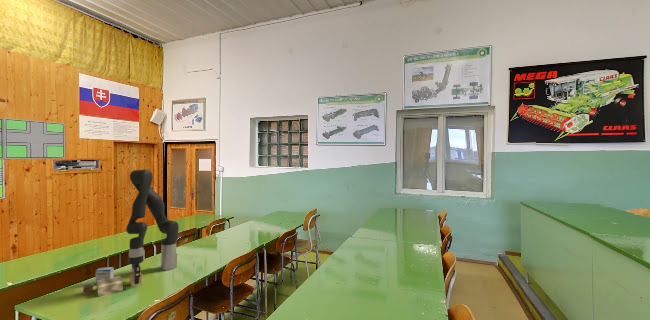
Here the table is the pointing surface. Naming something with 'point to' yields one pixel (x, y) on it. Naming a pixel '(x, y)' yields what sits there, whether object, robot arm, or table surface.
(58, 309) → the table surface
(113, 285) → the birch block
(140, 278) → the terracotta block
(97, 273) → the medicine box
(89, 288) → the walnut block
